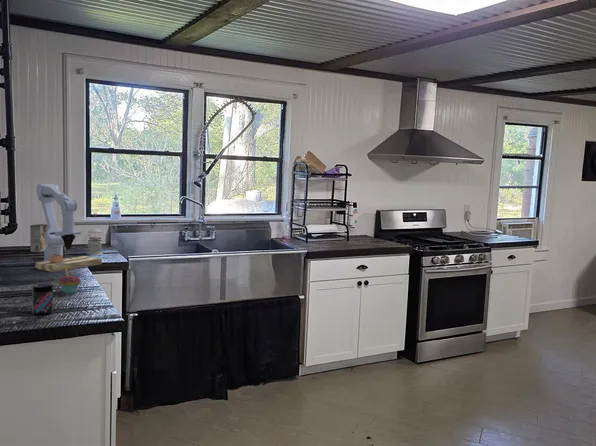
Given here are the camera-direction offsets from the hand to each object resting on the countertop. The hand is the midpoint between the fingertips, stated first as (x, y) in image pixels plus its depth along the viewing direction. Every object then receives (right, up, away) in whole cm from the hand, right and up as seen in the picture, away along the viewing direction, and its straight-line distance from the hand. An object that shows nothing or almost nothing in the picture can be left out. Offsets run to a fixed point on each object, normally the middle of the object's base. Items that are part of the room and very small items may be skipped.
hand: (68, 248), depth 273 cm
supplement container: (+29, -19, -86) cm, 93 cm away
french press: (-4, -5, +43) cm, 44 cm away
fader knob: (-4, -6, -6) cm, 9 cm away
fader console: (0, -9, +2) cm, 9 cm away
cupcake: (+24, -16, -53) cm, 60 cm away
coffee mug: (-16, -6, +26) cm, 32 cm away
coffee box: (-37, -4, +44) cm, 58 cm away
